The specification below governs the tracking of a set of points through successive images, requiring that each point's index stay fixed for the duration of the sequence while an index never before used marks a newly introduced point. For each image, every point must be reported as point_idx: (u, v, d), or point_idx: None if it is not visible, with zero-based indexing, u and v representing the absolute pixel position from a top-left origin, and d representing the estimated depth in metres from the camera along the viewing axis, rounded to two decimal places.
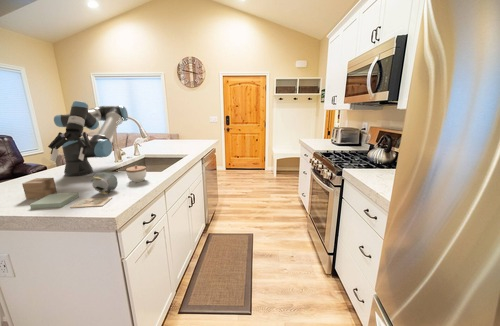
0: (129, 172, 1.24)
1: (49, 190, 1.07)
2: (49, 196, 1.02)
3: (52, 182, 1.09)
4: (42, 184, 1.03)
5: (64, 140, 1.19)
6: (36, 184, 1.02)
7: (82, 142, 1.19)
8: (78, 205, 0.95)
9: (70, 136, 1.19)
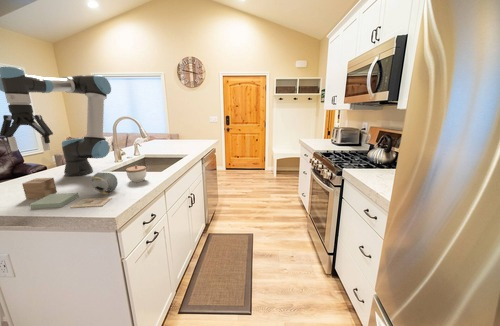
0: (129, 172, 1.24)
1: (49, 190, 1.07)
2: (49, 196, 1.02)
3: (52, 182, 1.09)
4: (42, 184, 1.03)
5: (15, 126, 0.99)
6: (36, 184, 1.02)
7: (39, 129, 1.00)
8: (78, 205, 0.95)
9: (20, 121, 0.98)
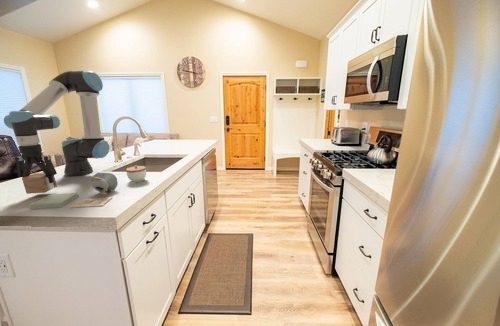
0: (129, 172, 1.24)
1: None
2: (49, 196, 1.02)
3: None
4: (42, 178, 1.03)
5: (28, 165, 1.03)
6: (36, 178, 1.02)
7: (45, 169, 1.05)
8: (78, 205, 0.95)
9: (30, 160, 1.02)
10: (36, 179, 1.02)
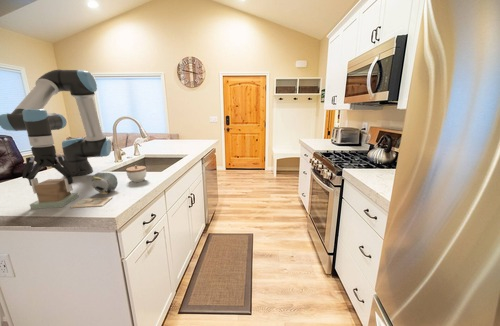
0: (129, 172, 1.24)
1: (63, 192, 0.99)
2: None
3: None
4: (56, 186, 0.95)
5: (38, 168, 0.95)
6: (50, 186, 0.94)
7: (62, 170, 0.96)
8: (78, 205, 0.95)
9: (43, 163, 0.94)
10: (50, 186, 0.94)
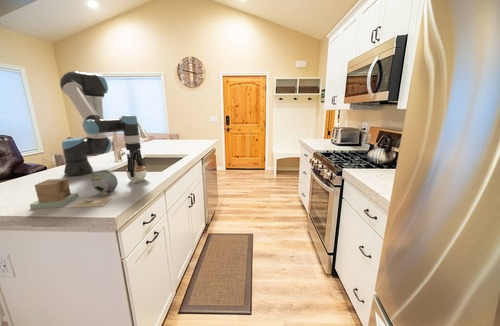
0: (129, 172, 1.24)
1: (63, 192, 0.99)
2: None
3: (66, 183, 1.01)
4: (56, 186, 0.95)
5: (135, 158, 1.30)
6: (50, 186, 0.94)
7: None
8: (78, 205, 0.95)
9: None
10: (50, 186, 0.94)
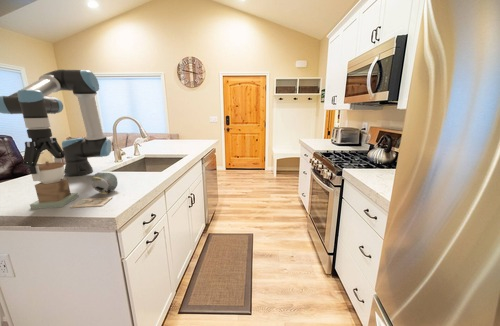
0: None
1: (63, 192, 0.99)
2: None
3: (66, 183, 1.01)
4: (56, 185, 0.95)
5: (48, 149, 0.97)
6: (50, 186, 0.94)
7: None
8: (78, 205, 0.95)
9: None
10: (50, 186, 0.94)
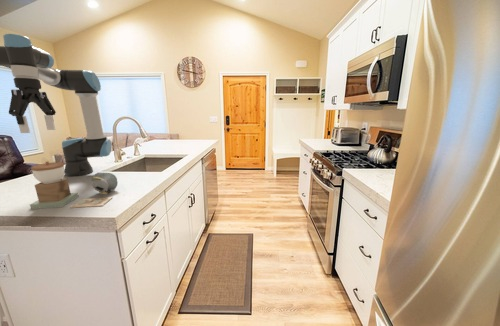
0: (34, 170, 0.91)
1: (63, 192, 0.99)
2: None
3: (66, 183, 1.01)
4: (56, 185, 0.95)
5: (37, 103, 0.92)
6: (50, 186, 0.94)
7: None
8: (78, 205, 0.95)
9: None
10: (50, 186, 0.94)
